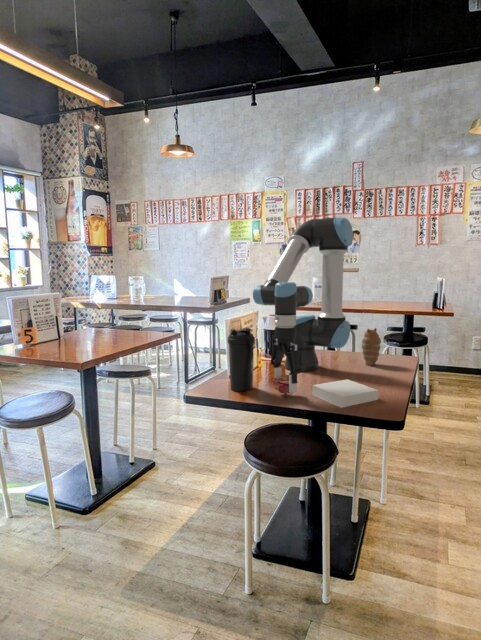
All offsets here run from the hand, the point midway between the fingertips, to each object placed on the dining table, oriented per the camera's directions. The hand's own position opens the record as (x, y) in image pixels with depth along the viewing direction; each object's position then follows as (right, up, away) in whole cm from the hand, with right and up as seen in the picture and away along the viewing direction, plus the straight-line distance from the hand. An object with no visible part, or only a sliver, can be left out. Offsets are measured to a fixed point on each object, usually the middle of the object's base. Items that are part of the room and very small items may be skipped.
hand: (285, 388), depth 162 cm
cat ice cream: (+42, +3, +41) cm, 59 cm away
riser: (+21, -3, -3) cm, 21 cm away
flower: (0, -3, 0) cm, 3 cm away
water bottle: (-16, -2, +12) cm, 20 cm away
